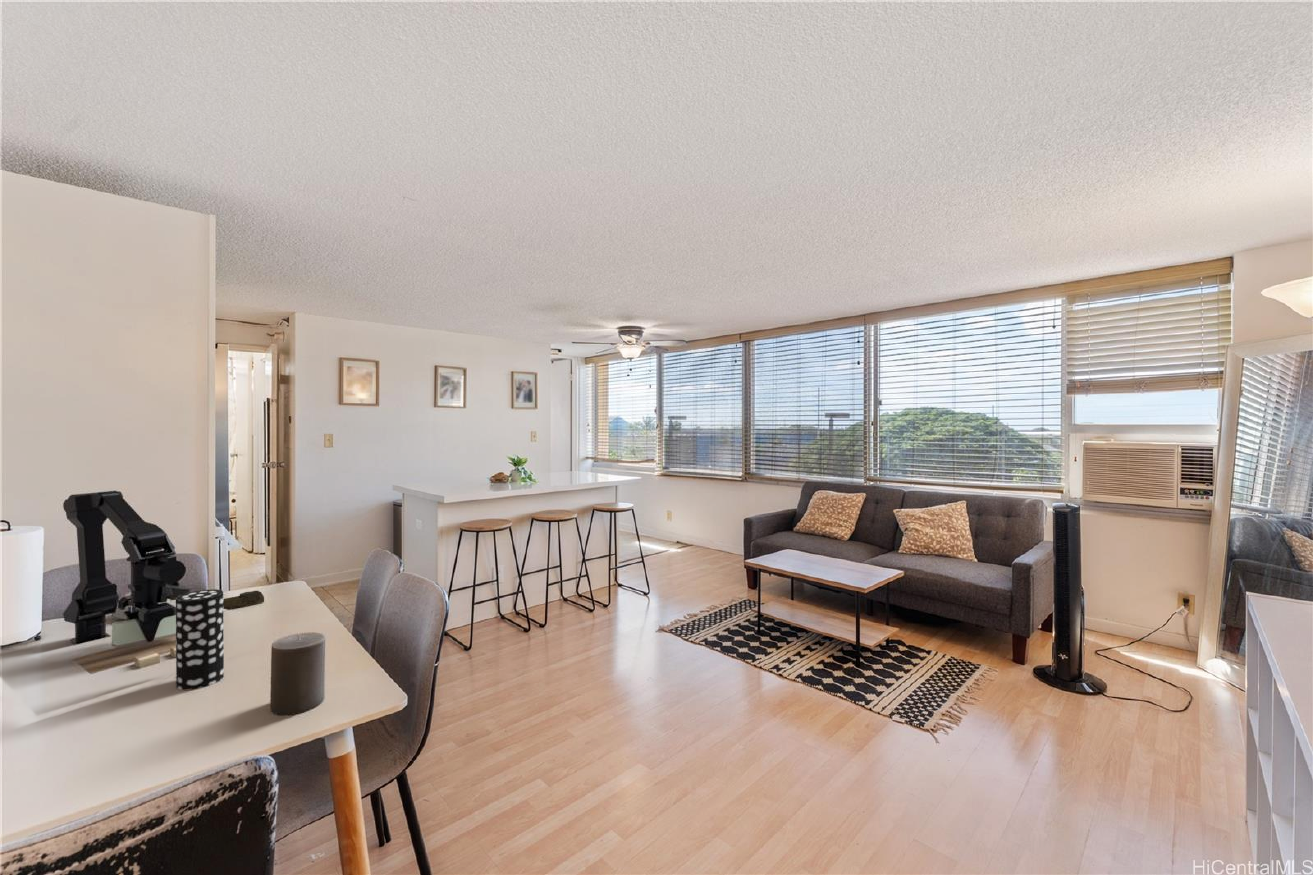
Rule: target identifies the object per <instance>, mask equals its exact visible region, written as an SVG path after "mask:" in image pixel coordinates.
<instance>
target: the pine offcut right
mask: <svg viewBox="0 0 1313 875" xmlns="http://www.w3.org/2000/svg"><path fill="white" fill-rule="evenodd" d="M169 654H170V656H171V657H173V658H175V659H176V646H173V647H170V652H169Z"/></svg>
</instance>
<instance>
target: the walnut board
mask: <svg viewBox="0 0 1313 875" xmlns="http://www.w3.org/2000/svg"><path fill="white" fill-rule="evenodd" d="M173 646H176V635H175V636H170V637H166V638H161V639H156V640H153V641H152V642H147V641H146V642H142V643H137V644H132V645H127V646H123V647H118V648H117V647H114V648H110V649H107V650H103V651H99V652H95V653H90V654H87V655H82V656H79V657H75V658H72V661H74V662H75V663H77V664H78V665H79V666H81V667H82V668H83V669H84V670H86V671H87V672H88V673H89V674H90V675H93V674H96V673H99V672H103V671H107V670H110V669H111V670H112V669H115V668H118V667H120V666H123V665H128V664H132V663H135V657H137V656H140V655H144V654H148V653H151V652H155V653H157V654H159V655H161V656H162V655H163V654H167V653H170V647H173Z"/></svg>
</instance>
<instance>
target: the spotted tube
mask: <svg viewBox="0 0 1313 875" xmlns="http://www.w3.org/2000/svg"><path fill="white" fill-rule="evenodd" d="M223 599H224V591H223V590H222V589H217V588H216V589H215V588H214V589H200V590H195V591H190V592H189V593H186V594H183V595H180V596H178V597H176V600H175V607H176V658H175V666H176V667H175V669H176V670H175V673H176V674H175V675H176V677H175V678H176V683H175V684H176V689H178V690H182V691H189V690H192V691H193V690H197V689H201V688H205V687H208V686H211V685H213V684H216V683H218V682H220V681H222V679H223V678H224V677H225V676H224V675H225V672H224V671H225V669H224V667H225V666H224V665H225V664H224V661H225V660H224V658H225V657H224V649H225V648H224V646H225V645H224V638H225V637H224V609H223Z"/></svg>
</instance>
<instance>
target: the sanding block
mask: <svg viewBox="0 0 1313 875" xmlns="http://www.w3.org/2000/svg"><path fill="white" fill-rule="evenodd" d="M111 624H112V625H111V626H112V628H111V647H114V648H118V647H123V646H127V645H132V644H137V643H142V642H146V639H145V637H144V635H143V633H142V631H141V629H140V627H139V626H138V624H137V622H136V620H135V619H132V620H129V619H128V620H122V621H115V622H112V623H111ZM175 635H176V615H174V616H170V617H166V618H163V619H162V620H161V622H160V624H159V626H158V629H157V632H156V635H155V638H154V640H156V639H161V638H166V637H170V636H175Z"/></svg>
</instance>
